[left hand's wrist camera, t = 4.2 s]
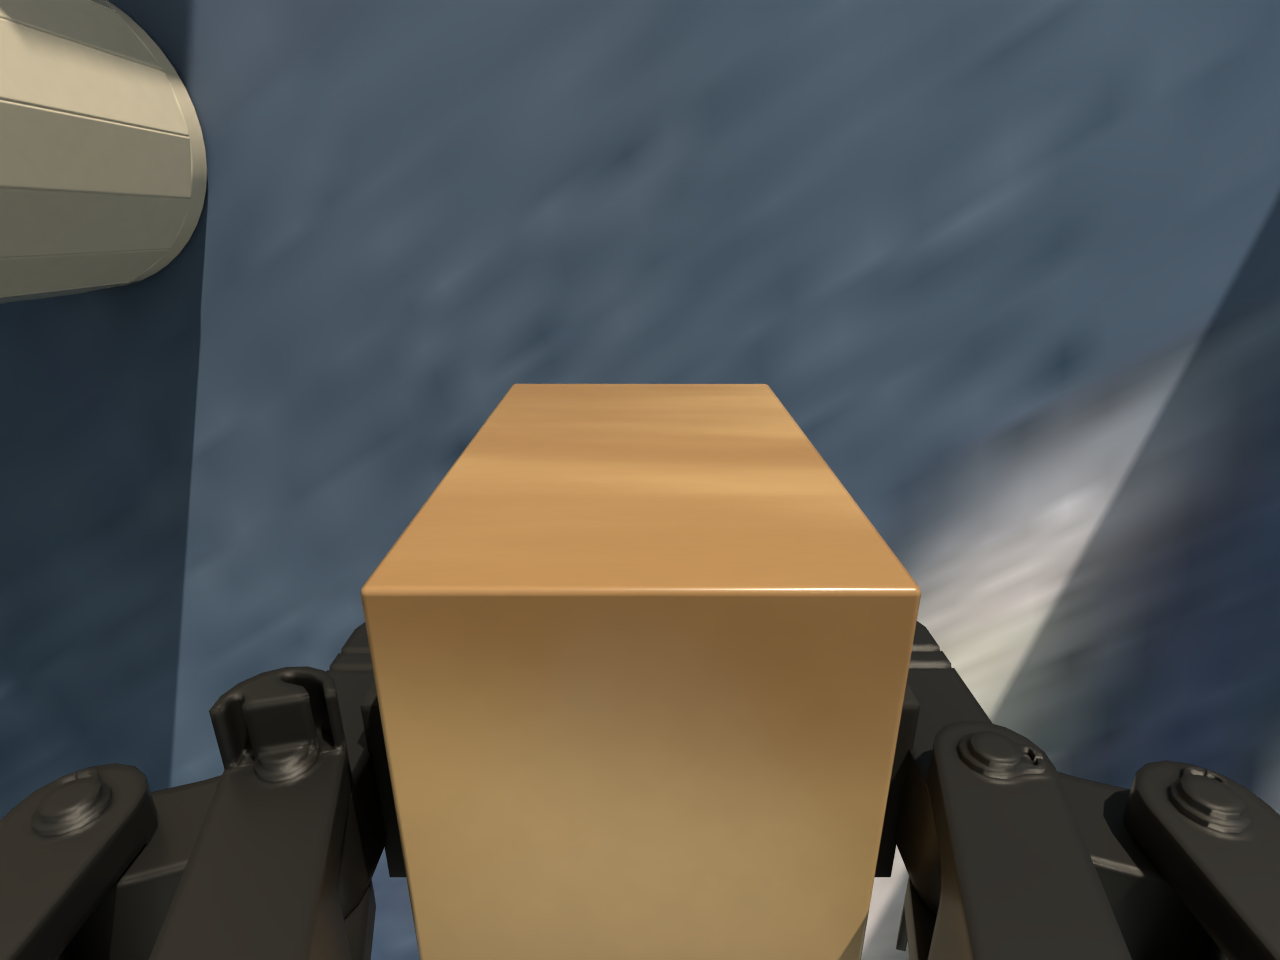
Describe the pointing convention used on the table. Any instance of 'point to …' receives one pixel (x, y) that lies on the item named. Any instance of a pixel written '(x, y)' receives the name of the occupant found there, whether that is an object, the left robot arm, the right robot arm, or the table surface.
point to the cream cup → (90, 151)
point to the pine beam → (640, 684)
